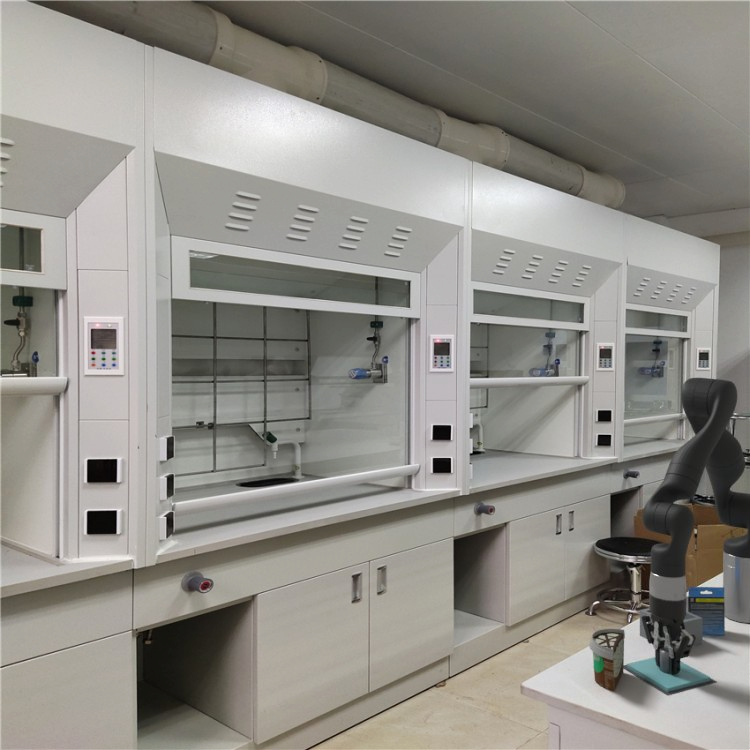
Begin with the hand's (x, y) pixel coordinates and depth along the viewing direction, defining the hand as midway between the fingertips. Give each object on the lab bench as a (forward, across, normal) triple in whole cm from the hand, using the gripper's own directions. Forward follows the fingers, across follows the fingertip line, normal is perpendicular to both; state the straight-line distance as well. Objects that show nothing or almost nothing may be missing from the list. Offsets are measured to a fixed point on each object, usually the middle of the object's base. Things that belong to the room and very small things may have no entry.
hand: (667, 669), depth 152 cm
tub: (+2, +13, -14) cm, 19 cm away
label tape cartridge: (+2, +14, -26) cm, 30 cm away
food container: (+2, +4, +14) cm, 15 cm away
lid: (+1, 0, 0) cm, 1 cm away
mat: (+2, 0, 0) cm, 2 cm away
